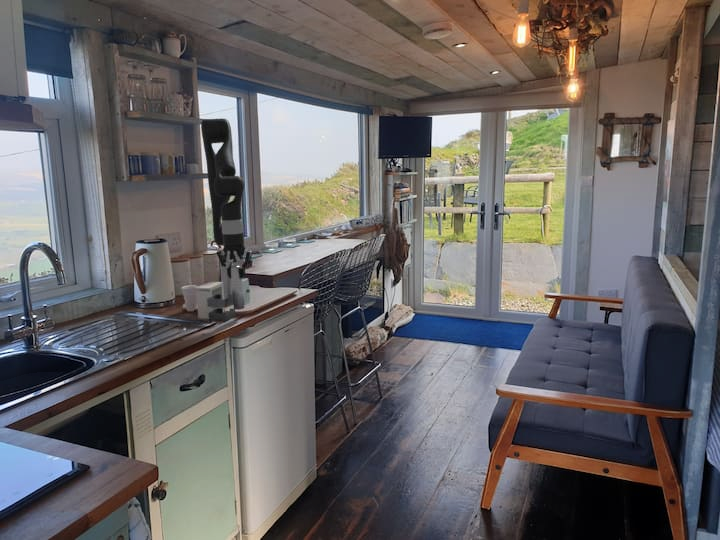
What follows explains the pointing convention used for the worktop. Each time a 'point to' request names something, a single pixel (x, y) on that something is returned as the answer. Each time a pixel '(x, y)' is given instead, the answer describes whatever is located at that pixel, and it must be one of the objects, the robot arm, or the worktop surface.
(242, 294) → the door
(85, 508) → the worktop surface
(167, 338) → the worktop surface
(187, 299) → the smoothie
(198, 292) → the cabinet
